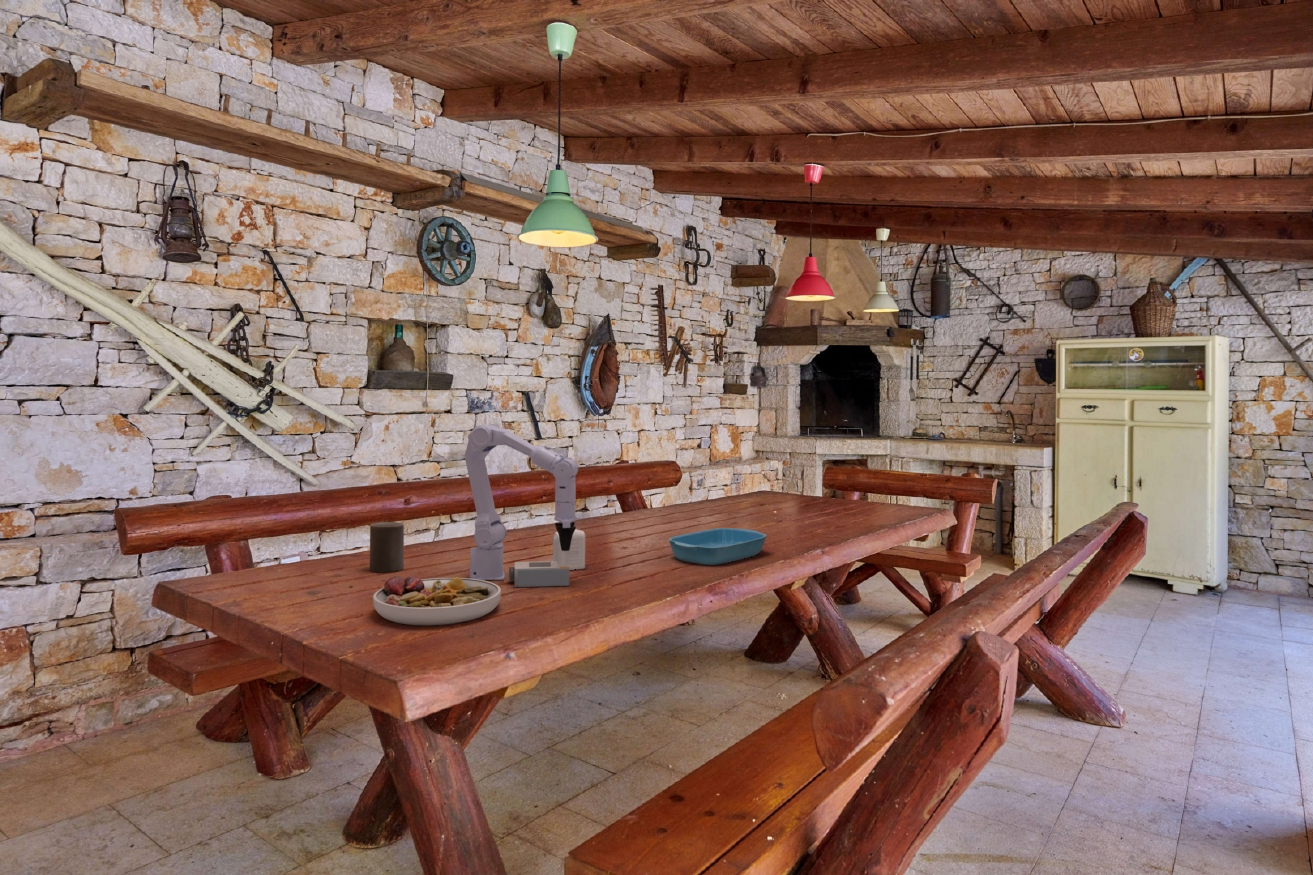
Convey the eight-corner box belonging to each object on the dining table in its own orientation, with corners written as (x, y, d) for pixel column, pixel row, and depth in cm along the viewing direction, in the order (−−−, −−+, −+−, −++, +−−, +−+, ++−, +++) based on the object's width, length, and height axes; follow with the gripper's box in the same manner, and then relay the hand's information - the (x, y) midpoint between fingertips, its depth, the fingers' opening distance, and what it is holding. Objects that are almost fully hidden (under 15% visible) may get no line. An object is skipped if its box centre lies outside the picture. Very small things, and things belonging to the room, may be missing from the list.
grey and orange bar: (514, 587, 216) (514, 570, 216) (514, 584, 220) (514, 567, 220) (569, 585, 219) (569, 569, 218) (568, 582, 222) (568, 566, 222)
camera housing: (508, 586, 217) (509, 568, 217) (509, 579, 226) (509, 561, 226) (558, 585, 220) (558, 567, 219) (557, 578, 228) (557, 560, 228)
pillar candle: (382, 574, 230) (382, 523, 229) (362, 569, 236) (363, 519, 235) (410, 569, 238) (411, 519, 237) (391, 564, 244) (391, 516, 243)
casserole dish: (709, 571, 241) (709, 547, 241) (655, 560, 257) (656, 538, 256) (777, 554, 268) (778, 533, 268) (725, 545, 284) (725, 525, 283)
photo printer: (580, 566, 245) (580, 526, 244) (587, 569, 241) (587, 528, 240) (550, 570, 239) (550, 529, 238) (556, 572, 235) (556, 531, 235)
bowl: (519, 600, 204) (520, 570, 204) (466, 634, 175) (466, 599, 175) (415, 592, 211) (414, 563, 211) (346, 624, 182) (346, 590, 181)
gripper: (581, 504, 216) (581, 553, 217) (577, 497, 230) (577, 544, 231) (555, 505, 215) (555, 554, 216) (553, 498, 229) (553, 544, 230)
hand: (565, 549), depth 223 cm, fingers open, 4 cm apart
